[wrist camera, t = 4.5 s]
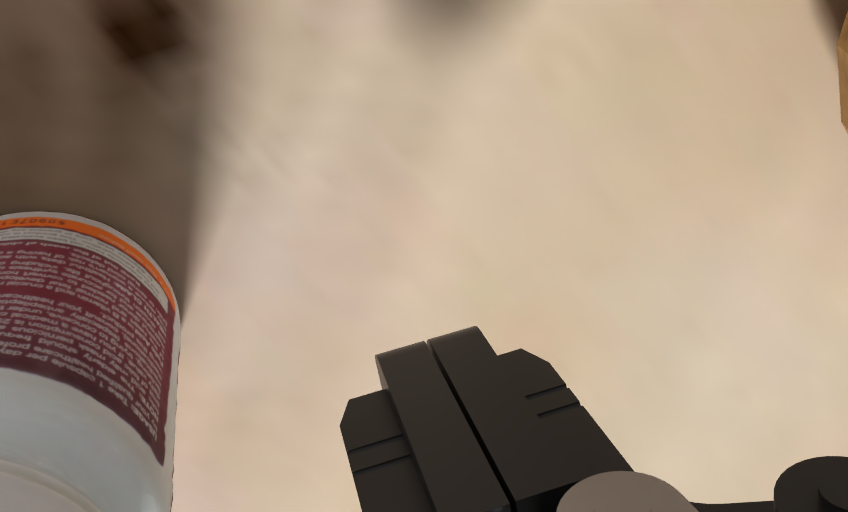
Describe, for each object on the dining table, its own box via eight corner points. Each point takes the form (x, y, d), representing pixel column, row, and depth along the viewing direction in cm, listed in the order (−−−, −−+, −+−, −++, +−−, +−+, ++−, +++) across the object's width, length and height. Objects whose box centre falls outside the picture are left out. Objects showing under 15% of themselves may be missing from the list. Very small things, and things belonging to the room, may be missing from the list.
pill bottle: (-123, 224, 14) (-511, 574, 6) (158, 190, 15) (107, 461, 7) (-45, 445, 16) (-275, 916, 8) (199, 402, 17) (192, 790, 9)
